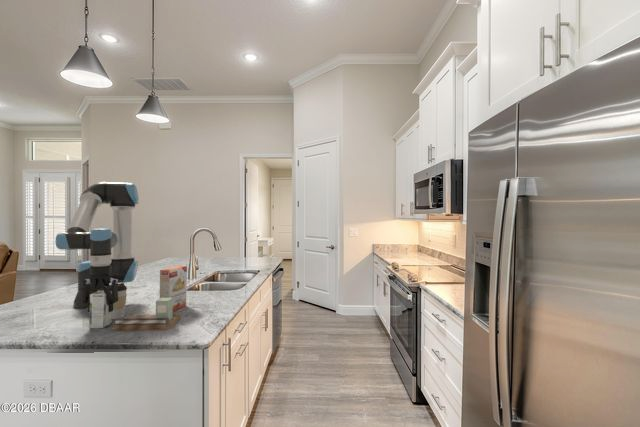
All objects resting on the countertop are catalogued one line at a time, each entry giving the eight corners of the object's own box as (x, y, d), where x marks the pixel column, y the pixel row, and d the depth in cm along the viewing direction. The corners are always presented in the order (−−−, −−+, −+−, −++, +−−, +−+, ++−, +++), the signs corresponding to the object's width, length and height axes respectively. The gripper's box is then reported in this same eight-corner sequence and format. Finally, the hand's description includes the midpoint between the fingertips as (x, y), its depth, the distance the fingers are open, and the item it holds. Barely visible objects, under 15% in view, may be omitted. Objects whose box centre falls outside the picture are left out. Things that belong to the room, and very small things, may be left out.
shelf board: (112, 330, 133) (112, 319, 133) (131, 319, 147) (131, 309, 147) (167, 329, 134) (167, 318, 134) (180, 318, 148) (180, 308, 148)
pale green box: (155, 322, 138) (155, 300, 138) (160, 318, 143) (160, 297, 143) (167, 322, 138) (167, 300, 138) (172, 318, 143) (172, 297, 143)
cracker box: (169, 313, 156) (170, 270, 156) (158, 313, 157) (158, 269, 157) (187, 305, 169) (187, 265, 169) (176, 305, 170) (177, 265, 170)
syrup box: (97, 324, 141) (97, 290, 141) (111, 323, 141) (111, 290, 141) (89, 328, 135) (89, 293, 135) (103, 328, 135) (104, 293, 135)
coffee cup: (110, 321, 145) (110, 287, 145) (100, 317, 149) (100, 284, 149) (130, 315, 152) (131, 283, 152) (120, 312, 157) (121, 281, 157)
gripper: (71, 266, 134) (71, 322, 134) (118, 266, 135) (118, 322, 135) (83, 263, 141) (83, 316, 141) (128, 263, 142) (128, 316, 142)
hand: (100, 319), depth 138 cm, fingers closed on syrup box, 6 cm apart
